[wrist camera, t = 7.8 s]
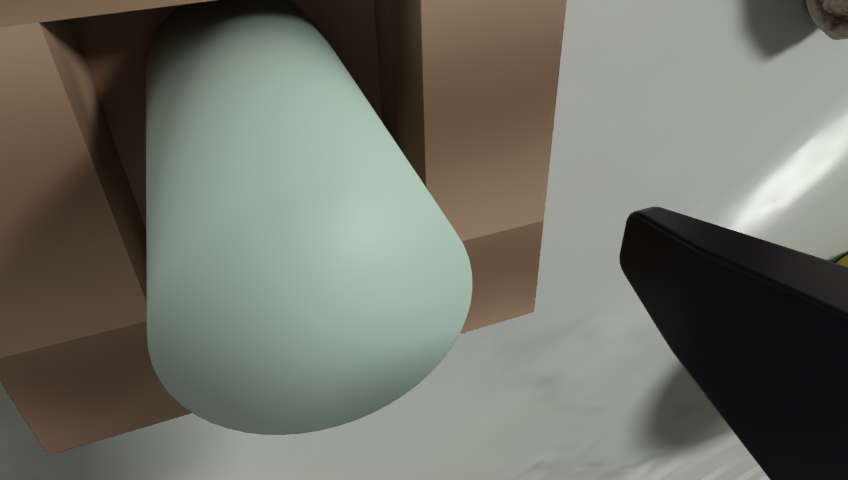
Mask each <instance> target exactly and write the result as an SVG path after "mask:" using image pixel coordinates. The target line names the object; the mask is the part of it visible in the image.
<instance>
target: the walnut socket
mask: <svg viewBox="0 0 848 480" xmlns="http://www.w3.org/2000/svg"><path fill="white" fill-rule="evenodd" d="M206 1H214V0H0V381H1V383H2V384H3V386H4V387H5V389H6V391H7V392H8V394H9V395H10V397H11V399H12V400H13V402H14V403H15V405H16V407H17V408H18V410H19V411H20V413H21V414H22V416H23V418H24V419H25V421H26V422H27V424H28V426H29V427H30V429H31V430H32V432H33V433H34V435H35V437H36V438H37V440H38V441H39V443H40V445H41V446H42V448H43V449H44V451H45V453H46V454H47V456H48V455H52V454H55V453H58V452H62V451H65V450H68V449H72V448H75V447H79V446H82V445H85V444H89V443H92V442H96V441H99V440H102V439H106V438H109V437H112V436H116V435H119V434H123V433H126V432H129V431H133V430H136V429H139V428H143V427H146V426H150V425H153V424H156V423H160V422H163V421H167V420H170V419H173V418H177V417H180V416H183V415H187V414H190V413H192V412H191V411H189V410H188V409H186V408H185V407H183V406H182V405H181V404H180V403H179V402H178V401H177V400H176V399H175V398H173V397H172V396H171V395H170V394H169V392H168V391H167V390H166V388H165V387H164V386H163V384H162V383H161V382H160V380H159V378H158V376H157V374H156V372H155V370H154V368H153V366H152V362H151V359H150V355H149V351H148V341H147V249H146V63H147V57H148V53H149V49H150V46H151V43H152V41H153V39H154V36H155V35H156V33H157V31H158V30H159V28H160V26H161V25H162V24H163V22H164V21H165V20H166V19H167V18H168V16H169V15H170V14H171V13H173V12H174V11H175V10H176V9H177V8H178V7H179V6H181V5H183V4H190V3H198V2H206ZM288 1H289V2H291V3H293V4H294V5H296V6H297V7H298V8H300V9H301V10H302V11H303V12H304V13H306V14H307V15H308V16H309V17H310V18H311V19H312V20H313V22H314V23H315V24H316V25H317V26H318V28H319V29H320V31H321V32H322V34H323V35H324V37H325V38H326V40H327V41H328V43H329V44H330V45H331V47H332V48H333V50H334V51H335V53H336V54H337V56H338V57H339V59H340V60H341V62H342V63H343V65H344V66H345V68H346V69H347V71H348V72H349V74H350V75H351V77H352V78H353V80H354V81H355V83H356V84H357V86H358V87H359V89H360V90H361V92H362V93H363V95H364V96H365V98H366V99H367V101H368V102H369V103H370V105H371V106H372V108H373V109H374V111H375V112H376V114H377V115H378V117H379V118H380V120H381V121H382V123H383V124H384V126H385V127H386V129H387V130H388V132H389V133H390V135H391V136H392V138H393V139H394V141H395V142H396V144H397V145H398V147H399V148H400V150H401V151H402V153H403V154H404V156H405V157H406V159H407V160H408V161H409V163H410V164H411V166H412V167H413V169H414V170H415V172H416V173H417V175H418V176H419V178H420V179H421V181H422V182H423V184H424V185H425V187H426V188H427V190H428V191H429V193H430V194H431V196H432V197H433V199H434V200H435V202H436V203H437V205H438V206H439V208H440V209H441V211H442V212H443V214H444V215H445V216H446V218H447V219H448V221H449V222H450V224H451V225H452V227H453V228H454V230H455V231H456V233H457V235H458V236H459V238H460V240H461V241H462V243H463V244H464V247H465V250H466V252H467V255H468V257H469V261H470V266H471V271H472V296H471V304H470V307H469V311H468V314H467V318H466V320H465V323H464V325H463V327H462V330H461V332H460V334H461V333H464V332H467V331H471V330H474V329H478V328H481V327H484V326H488V325H491V324H495V323H498V322H501V321H505V320H508V319H511V318H515V317H518V316H522V315H525V314H528V313H532V312H534V306H535V297H536V287H537V278H538V268H539V258H540V249H541V239H542V230H543V220H544V211H545V201H546V191H547V182H548V172H549V163H550V153H551V144H552V134H553V124H554V115H555V105H556V96H557V86H558V76H559V67H560V57H561V48H562V38H563V29H564V19H565V9H566V0H288Z"/></svg>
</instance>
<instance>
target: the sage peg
mask: <svg viewBox="0 0 848 480" xmlns="http://www.w3.org/2000/svg"><path fill="white" fill-rule="evenodd" d="M146 249H147V341H148V351H149V355H150V359H151V362H152V366H153V368H154V370H155V372H156V374H157V376H158V378H159V380H160V382H161V383H162V384H163V386H164V387H165V388H166V390H167V391H168V392H169V394H170V395H171V396H172V397H173V398H175V399H176V400H177V401H178V402H179V403H180V404H181V405H182V406H183V407H185V408H186V409H188V410H189V411H191V412H192V413H194V414H195V415H197V416H199V417H201V418H203V419H205V420H207V421H209V422H211V423H214V424H217V425H220V426H223V427H225V428H228V429H233V430H237V431H242V432H247V433H256V434H269V435H286V434H300V433H307V432H313V431H319V430H323V429H327V428H332V427H336V426H339V425H342V424H345V423H348V422H351V421H354V420H357V419H359V418H362V417H364V416H366V415H369V414H371V413H373V412H375V411H377V410H379V409H381V408H383V407H385V406H387V405H389V404H390V403H392V402H393V401H395V400H396V399H398V398H400V397H401V396H403V395H404V394H406V393H407V392H408V391H410V390H411V389H412V388H414V387H415V386H416V385H417V384H419V383H420V382H421V381H422V380H423V379H424V378H425V377H426V376H427V375H429V374H430V373H431V372H432V371H433V370H434V368H435V367H436V366H437V365H438V364H439V363H440V362H441V361H442V360H443V358H444V357H445V356H446V354H447V353H448V351H449V350H450V349H451V347H452V346H453V344H454V342H455V341H456V339H457V337H458V336H459V334H460V332H461V330H462V327H463V325H464V323H465V320H466V318H467V314H468V311H469V307H470V304H471V296H472V271H471V266H470V261H469V257H468V255H467V252H466V250H465V247H464V244H463V243H462V241H461V240H460V238H459V236H458V235H457V233H456V231H455V230H454V228H453V227H452V225H451V224H450V222H449V221H448V219H447V218H446V216H445V215H444V214H443V212H442V211H441V209H440V208H439V206H438V205H437V203H436V202H435V200H434V199H433V197H432V196H431V194H430V193H429V191H428V190H427V188H426V187H425V185H424V184H423V182H422V181H421V179H420V178H419V176H418V175H417V173H416V172H415V170H414V169H413V167H412V166H411V164H410V163H409V161H408V160H407V159H406V157H405V156H404V154H403V153H402V151H401V150H400V148H399V147H398V145H397V144H396V142H395V141H394V139H393V138H392V136H391V135H390V133H389V132H388V130H387V129H386V127H385V126H384V124H383V123H382V121H381V120H380V118H379V117H378V115H377V114H376V112H375V111H374V109H373V108H372V106H371V105H370V103H369V102H368V101H367V99H366V98H365V96H364V95H363V93H362V92H361V90H360V89H359V87H358V86H357V84H356V83H355V81H354V80H353V78H352V77H351V75H350V74H349V72H348V71H347V69H346V68H345V66H344V65H343V63H342V62H341V60H340V59H339V57H338V56H337V54H336V53H335V51H334V50H333V48H332V47H331V45H330V44H329V43H328V41H327V40H326V38H325V37H324V35H323V34H322V32H321V31H320V29H319V28H318V26H317V25H316V24H315V23H314V22H313V20H312V19H311V18H310V17H309V16H308V15H307V14H306V13H304V12H303V11H302V10H301V9H300V8H298V7H297V6H296V5H294V4H293V3H291V2H289V1H288V0H214V1H206V2H198V3H190V4H183V5H181V6H179V7H178V8H177V9H176V10H175V11H174V12H173V13H171V14H170V15H169V16H168V18H167V19H166V20H165V21H164V22H163V24H162V25H161V26H160V28H159V30H158V31H157V33H156V35H155V36H154V39H153V41H152V43H151V46H150V49H149V53H148V57H147V63H146Z"/></svg>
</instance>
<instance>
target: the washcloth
mask: <svg viewBox="0 0 848 480" xmlns="http://www.w3.org/2000/svg"><path fill="white" fill-rule="evenodd" d="M806 4H807V8H808V11H809V13H810V15H811V18H812V19H813V21H814V22H815V24H816V25H817V26H818V27H819V28H820V29H821V30H822V31H823V32H824V33H825V34H826V35H828V36H829V37H830V38H832V39H835V40H840V39H848V0H806Z"/></svg>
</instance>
